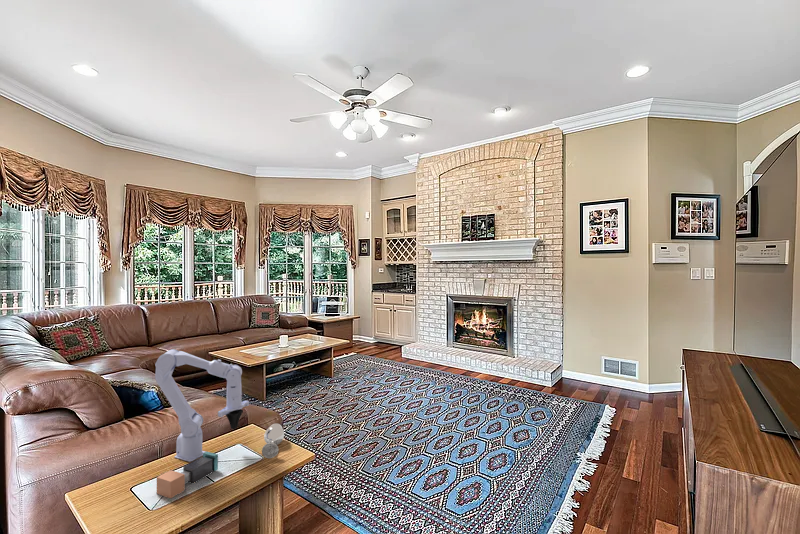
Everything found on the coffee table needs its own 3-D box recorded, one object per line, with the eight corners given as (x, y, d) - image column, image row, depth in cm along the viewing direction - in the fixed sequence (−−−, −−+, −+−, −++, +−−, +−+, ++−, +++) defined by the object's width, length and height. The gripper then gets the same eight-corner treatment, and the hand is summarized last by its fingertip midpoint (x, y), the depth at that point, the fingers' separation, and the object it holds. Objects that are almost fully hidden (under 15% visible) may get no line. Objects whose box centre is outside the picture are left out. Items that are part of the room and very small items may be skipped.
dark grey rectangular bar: (183, 480, 135) (183, 466, 135) (202, 469, 143) (202, 456, 143) (193, 483, 133) (193, 469, 133) (212, 472, 141) (212, 459, 141)
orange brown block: (156, 493, 127) (156, 477, 128) (170, 485, 132) (170, 470, 132) (170, 498, 125) (170, 481, 125) (184, 490, 129) (184, 474, 129)
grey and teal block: (164, 488, 130) (164, 472, 130) (206, 466, 145) (206, 451, 145) (176, 492, 127) (176, 476, 127) (217, 469, 142) (217, 454, 142)
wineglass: (283, 456, 152) (287, 435, 170) (277, 437, 152) (282, 418, 169) (262, 463, 151) (268, 441, 168) (257, 444, 150) (263, 424, 168)
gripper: (226, 402, 150) (226, 436, 150) (254, 391, 163) (254, 423, 163) (214, 399, 153) (214, 433, 153) (242, 389, 166) (242, 420, 166)
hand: (234, 428), depth 158 cm, fingers closed
